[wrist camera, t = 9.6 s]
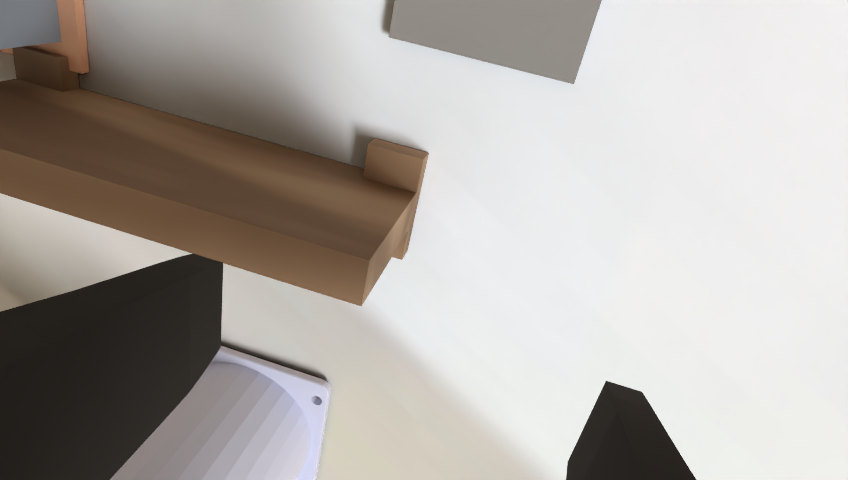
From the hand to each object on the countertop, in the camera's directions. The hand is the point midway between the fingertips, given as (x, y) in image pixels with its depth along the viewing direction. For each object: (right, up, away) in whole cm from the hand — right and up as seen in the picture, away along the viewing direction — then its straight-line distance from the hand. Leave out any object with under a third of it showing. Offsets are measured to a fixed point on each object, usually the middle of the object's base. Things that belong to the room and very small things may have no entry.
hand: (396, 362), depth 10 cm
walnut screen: (-7, +6, +11) cm, 14 cm away
